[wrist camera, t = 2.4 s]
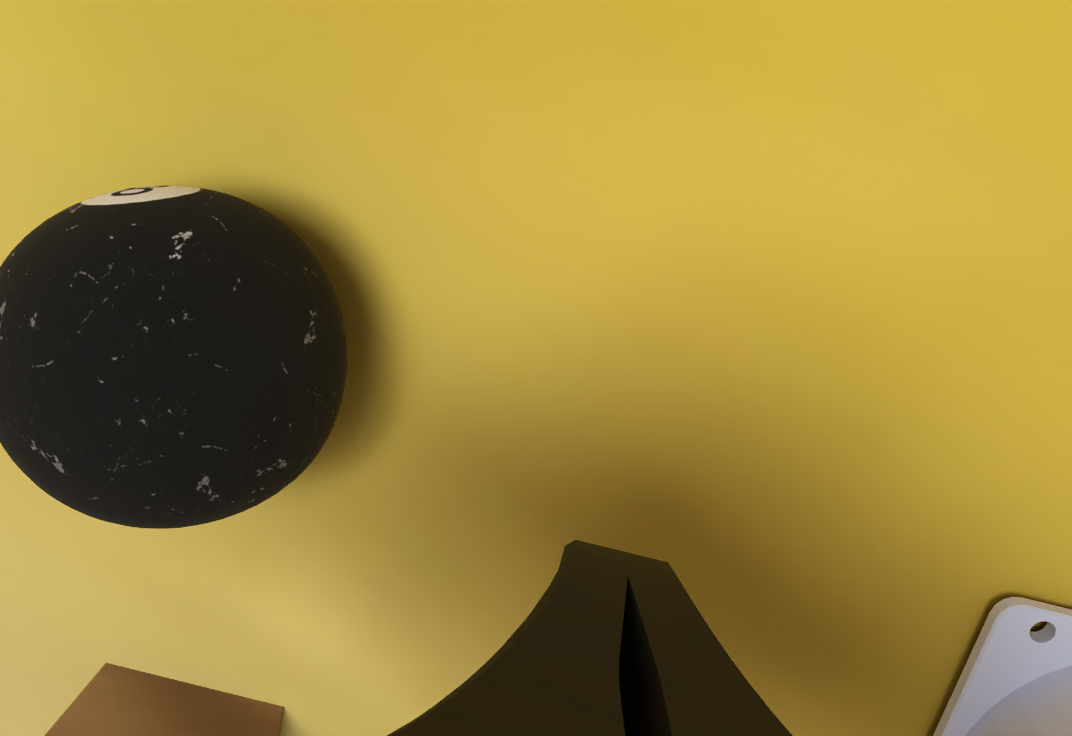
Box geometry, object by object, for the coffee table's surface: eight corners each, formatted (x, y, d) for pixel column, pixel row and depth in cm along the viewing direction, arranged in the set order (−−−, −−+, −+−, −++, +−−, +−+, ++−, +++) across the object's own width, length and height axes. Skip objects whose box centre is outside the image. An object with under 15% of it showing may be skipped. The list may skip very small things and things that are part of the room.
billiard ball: (135, 447, 21) (-48, 595, 15) (73, 176, 19) (-163, 231, 13) (397, 438, 20) (308, 590, 14) (359, 156, 18) (240, 204, 13)
